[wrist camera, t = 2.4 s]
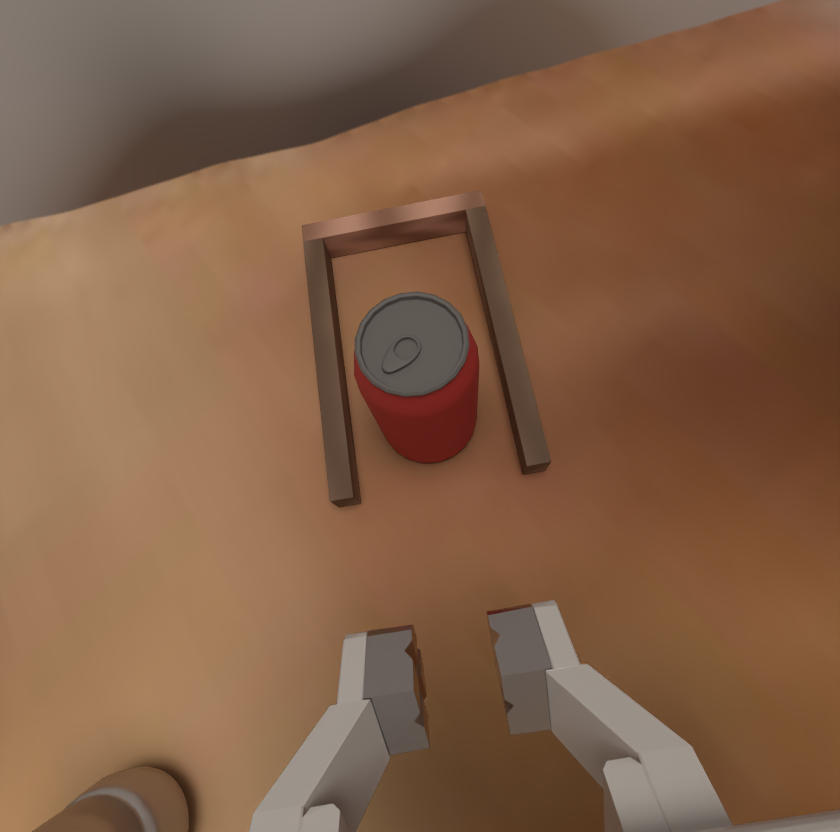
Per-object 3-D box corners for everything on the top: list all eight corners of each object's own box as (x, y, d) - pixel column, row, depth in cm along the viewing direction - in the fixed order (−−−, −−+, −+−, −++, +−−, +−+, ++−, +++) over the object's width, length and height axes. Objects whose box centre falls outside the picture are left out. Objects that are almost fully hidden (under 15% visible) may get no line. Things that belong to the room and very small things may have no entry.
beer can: (363, 425, 36) (315, 349, 24) (425, 359, 37) (406, 258, 26) (433, 485, 34) (416, 434, 23) (495, 413, 35) (509, 331, 24)
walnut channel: (480, 213, 41) (481, 190, 38) (545, 470, 34) (551, 461, 31) (311, 246, 41) (301, 225, 39) (339, 507, 34) (329, 501, 32)
